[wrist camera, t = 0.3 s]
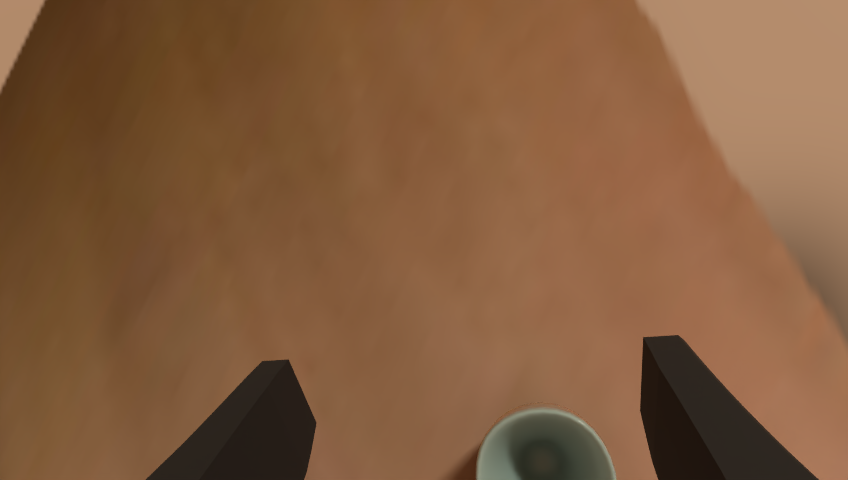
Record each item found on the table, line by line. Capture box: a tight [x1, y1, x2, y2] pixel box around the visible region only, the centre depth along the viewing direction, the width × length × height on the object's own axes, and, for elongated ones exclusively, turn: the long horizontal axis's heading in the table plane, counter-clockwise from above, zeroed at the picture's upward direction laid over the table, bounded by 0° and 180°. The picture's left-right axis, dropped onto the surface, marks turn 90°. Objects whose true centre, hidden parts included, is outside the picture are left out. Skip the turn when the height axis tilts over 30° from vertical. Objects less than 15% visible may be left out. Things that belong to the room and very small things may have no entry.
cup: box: [476, 402, 617, 480], centre depth 33 cm, size 8×8×10 cm
